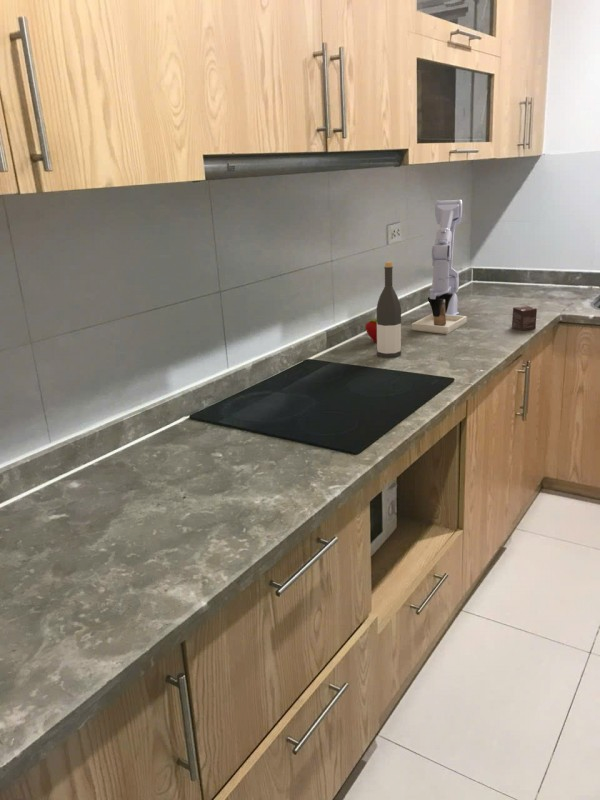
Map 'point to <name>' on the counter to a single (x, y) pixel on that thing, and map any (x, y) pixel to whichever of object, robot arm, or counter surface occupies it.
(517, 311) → the box
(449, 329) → the tray
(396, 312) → the wine bottle
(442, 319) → the shaker
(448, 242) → the robot arm
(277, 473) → the counter surface
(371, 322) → the strawberry
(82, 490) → the counter surface
